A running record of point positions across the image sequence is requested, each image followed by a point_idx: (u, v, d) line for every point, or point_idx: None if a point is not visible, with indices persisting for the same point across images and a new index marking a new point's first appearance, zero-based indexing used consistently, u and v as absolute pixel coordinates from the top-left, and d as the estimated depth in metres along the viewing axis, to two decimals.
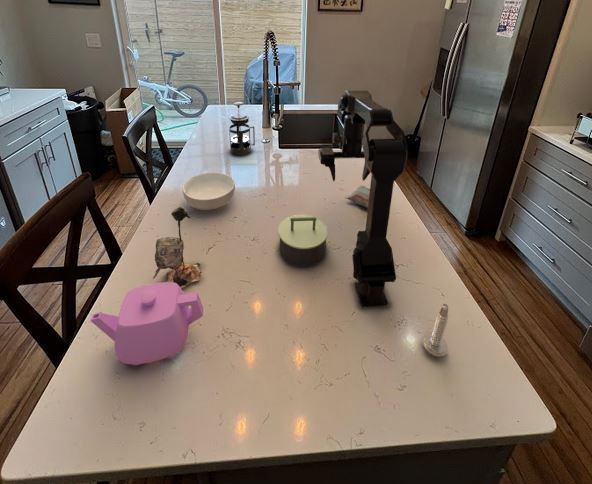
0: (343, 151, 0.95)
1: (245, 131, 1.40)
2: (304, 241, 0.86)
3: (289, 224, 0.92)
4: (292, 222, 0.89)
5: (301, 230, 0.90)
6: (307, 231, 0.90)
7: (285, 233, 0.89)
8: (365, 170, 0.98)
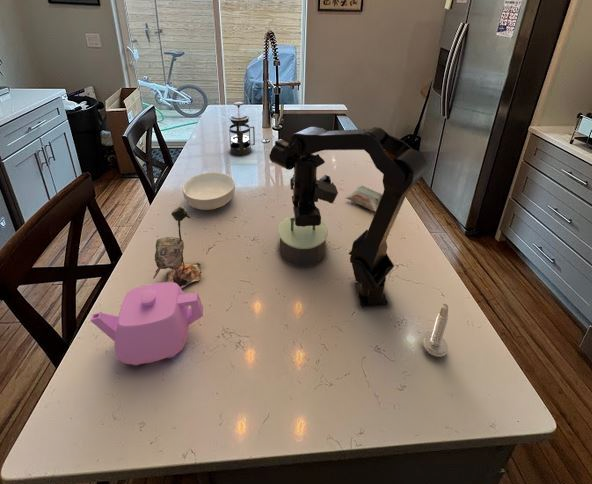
0: None
1: (245, 131, 1.40)
2: (304, 241, 0.86)
3: (289, 224, 0.92)
4: (292, 222, 0.89)
5: (301, 230, 0.90)
6: (307, 231, 0.90)
7: (285, 233, 0.89)
8: None
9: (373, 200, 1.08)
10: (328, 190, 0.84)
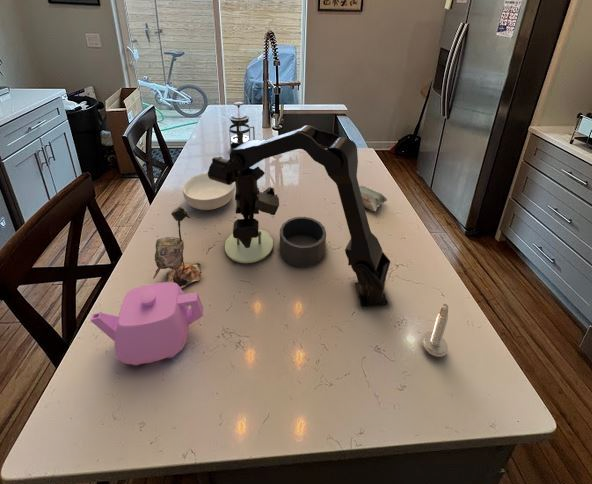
0: None
1: (245, 131, 1.40)
2: (248, 255, 0.89)
3: (237, 238, 0.95)
4: None
5: None
6: (253, 245, 0.92)
7: (231, 247, 0.92)
8: None
9: (373, 200, 1.08)
10: (269, 202, 0.86)
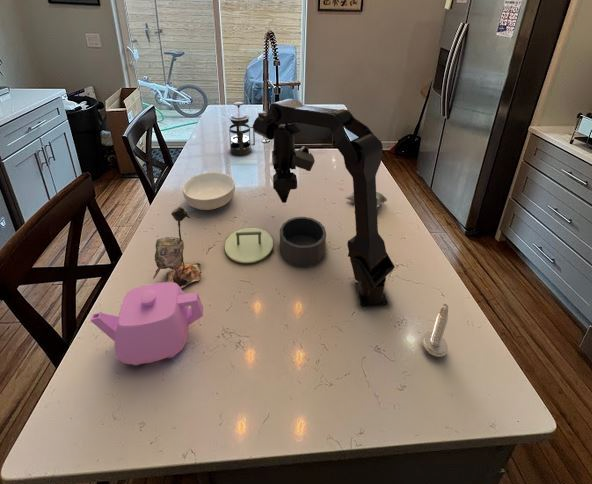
0: None
1: (245, 131, 1.40)
2: (248, 255, 0.89)
3: (237, 238, 0.95)
4: (237, 236, 0.91)
5: (247, 243, 0.93)
6: (253, 245, 0.92)
7: (231, 247, 0.92)
8: None
9: None
10: (305, 158, 0.90)
